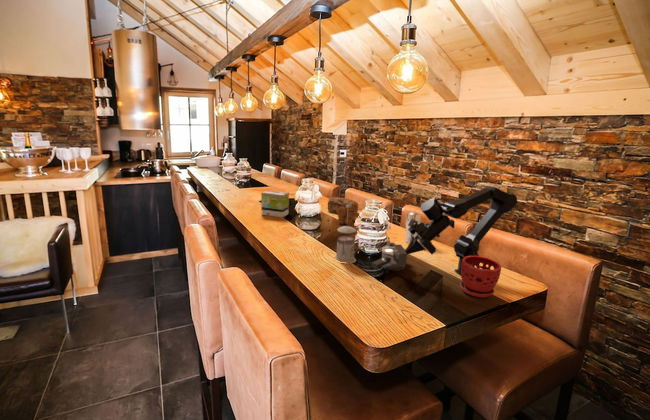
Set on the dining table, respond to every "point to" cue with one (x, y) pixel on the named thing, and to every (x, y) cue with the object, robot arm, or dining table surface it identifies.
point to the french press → (345, 244)
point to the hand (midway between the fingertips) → (404, 253)
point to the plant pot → (479, 276)
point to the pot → (387, 263)
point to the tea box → (275, 203)
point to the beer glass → (409, 216)
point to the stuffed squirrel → (351, 214)
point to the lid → (396, 253)
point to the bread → (338, 204)
